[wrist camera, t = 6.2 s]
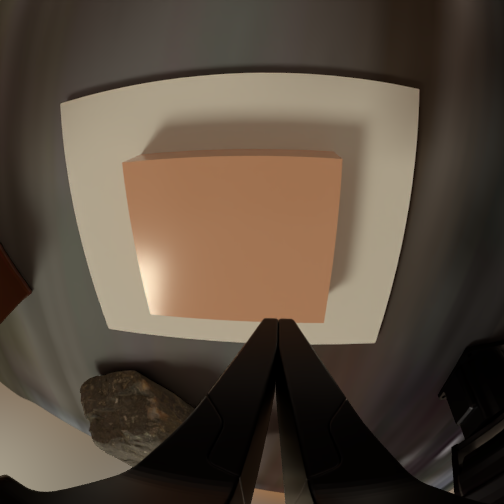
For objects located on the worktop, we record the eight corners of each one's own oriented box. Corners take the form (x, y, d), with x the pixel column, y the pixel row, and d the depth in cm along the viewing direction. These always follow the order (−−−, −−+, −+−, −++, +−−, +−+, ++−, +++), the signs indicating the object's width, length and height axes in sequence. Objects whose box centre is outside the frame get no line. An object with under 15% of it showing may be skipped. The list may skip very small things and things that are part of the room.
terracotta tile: (342, 159, 11) (122, 162, 11) (323, 323, 14) (150, 314, 15) (333, 151, 13) (141, 154, 13) (319, 299, 16) (162, 293, 17)
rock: (288, 465, 19) (225, 508, 21) (275, 411, 26) (223, 460, 28) (76, 382, 15) (56, 445, 17) (106, 331, 22) (78, 398, 24)
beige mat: (414, 89, 11) (419, 89, 11) (373, 337, 18) (375, 342, 18) (65, 103, 12) (60, 103, 12) (111, 324, 19) (108, 328, 19)
